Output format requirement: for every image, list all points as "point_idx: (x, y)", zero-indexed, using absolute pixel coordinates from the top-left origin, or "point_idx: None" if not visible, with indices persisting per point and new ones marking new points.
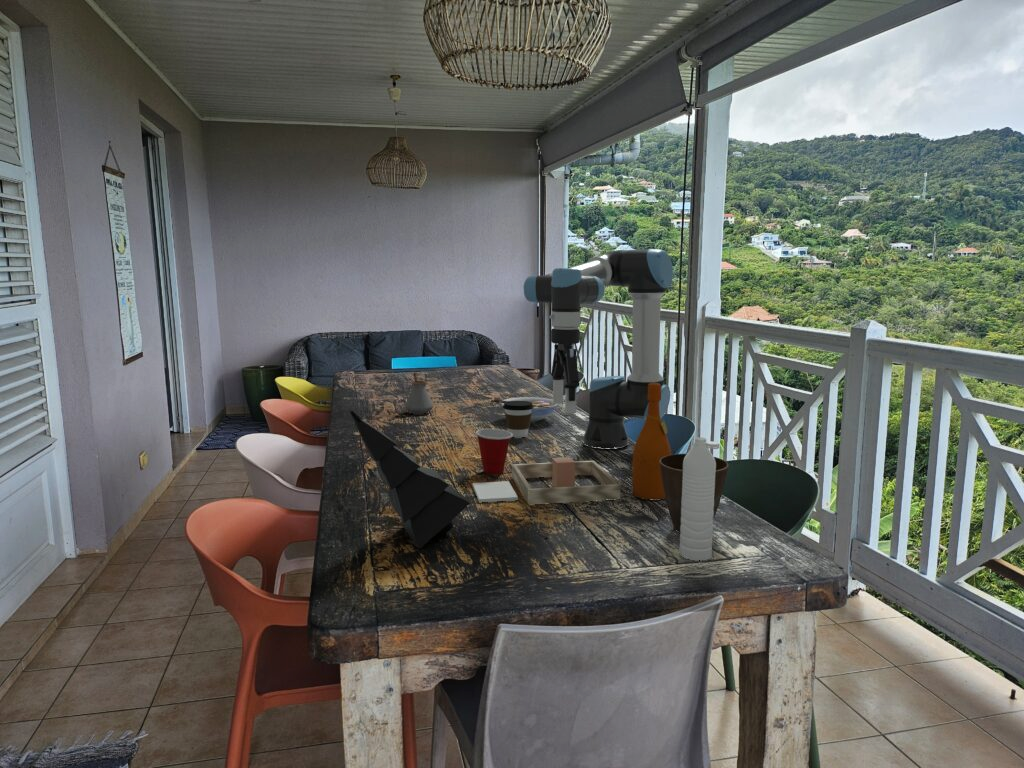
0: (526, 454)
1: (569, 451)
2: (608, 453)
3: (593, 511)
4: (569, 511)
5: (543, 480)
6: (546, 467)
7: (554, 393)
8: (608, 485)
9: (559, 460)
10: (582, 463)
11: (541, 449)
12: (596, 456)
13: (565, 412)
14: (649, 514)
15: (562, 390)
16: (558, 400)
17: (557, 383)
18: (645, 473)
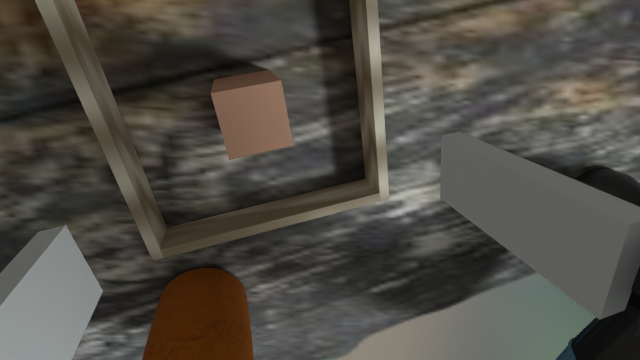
0: (574, 10)
1: (562, 133)
2: None
3: (43, 174)
4: (21, 107)
5: (326, 46)
6: (365, 59)
7: (497, 169)
8: (143, 232)
9: (247, 104)
10: (376, 168)
11: (602, 60)
12: None
13: (45, 232)
14: None
15: (509, 243)
16: (455, 178)
17: (578, 242)
18: (148, 339)
